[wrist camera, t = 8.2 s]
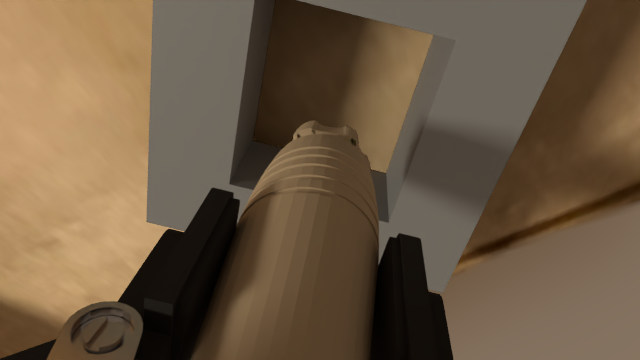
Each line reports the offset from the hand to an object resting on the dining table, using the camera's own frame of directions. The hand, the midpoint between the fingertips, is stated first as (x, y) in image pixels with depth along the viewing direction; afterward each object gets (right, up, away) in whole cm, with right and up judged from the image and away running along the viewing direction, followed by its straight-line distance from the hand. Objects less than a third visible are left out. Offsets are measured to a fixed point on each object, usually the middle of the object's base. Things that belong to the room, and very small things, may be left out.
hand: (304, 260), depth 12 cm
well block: (+1, +7, +12) cm, 14 cm away
